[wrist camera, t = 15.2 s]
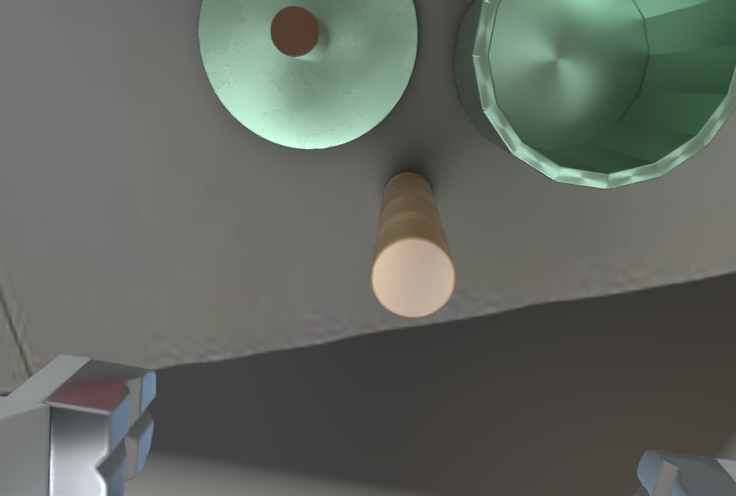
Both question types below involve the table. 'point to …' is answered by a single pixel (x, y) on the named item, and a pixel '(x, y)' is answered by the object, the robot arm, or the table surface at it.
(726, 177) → the table surface
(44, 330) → the table surface
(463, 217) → the table surface
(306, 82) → the tin lid
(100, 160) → the table surface
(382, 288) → the stick
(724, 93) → the tin
